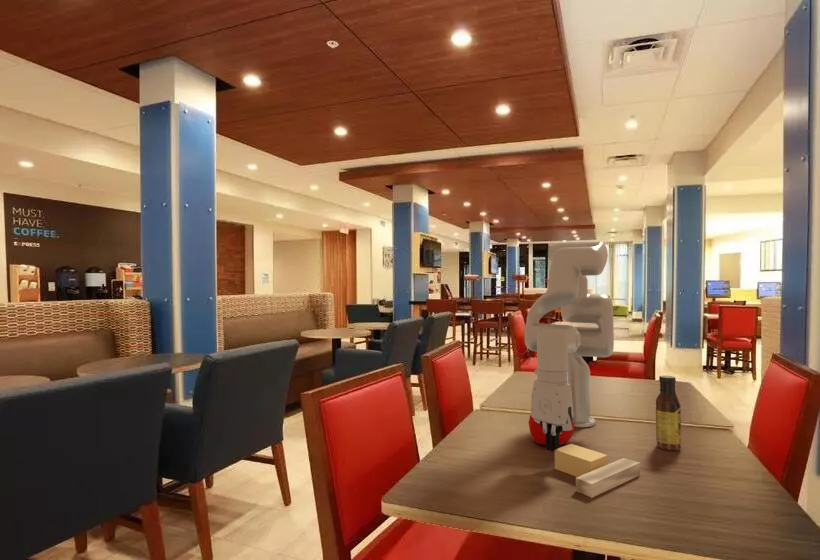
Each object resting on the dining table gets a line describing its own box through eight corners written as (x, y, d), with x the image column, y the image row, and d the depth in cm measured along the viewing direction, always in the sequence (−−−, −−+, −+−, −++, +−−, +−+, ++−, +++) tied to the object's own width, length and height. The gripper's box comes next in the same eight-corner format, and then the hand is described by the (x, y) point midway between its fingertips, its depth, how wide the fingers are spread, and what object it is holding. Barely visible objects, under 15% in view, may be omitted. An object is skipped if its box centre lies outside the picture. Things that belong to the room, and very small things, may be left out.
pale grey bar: (575, 491, 105) (575, 477, 106) (624, 469, 117) (624, 457, 117) (592, 497, 102) (592, 484, 102) (639, 475, 114) (639, 462, 114)
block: (554, 469, 118) (554, 449, 118) (571, 463, 123) (571, 443, 123) (591, 483, 110) (591, 461, 110) (607, 475, 115) (607, 455, 115)
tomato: (548, 462, 130) (565, 449, 141) (574, 428, 126) (589, 418, 137) (513, 429, 137) (531, 419, 148) (536, 396, 133) (553, 388, 144)
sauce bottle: (684, 452, 129) (684, 379, 129) (660, 450, 130) (659, 378, 130) (676, 444, 136) (676, 374, 136) (652, 443, 137) (652, 374, 137)
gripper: (519, 373, 124) (519, 444, 124) (568, 383, 112) (569, 461, 112) (538, 370, 128) (538, 438, 128) (587, 379, 116) (587, 454, 116)
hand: (552, 449), depth 120 cm, fingers closed
